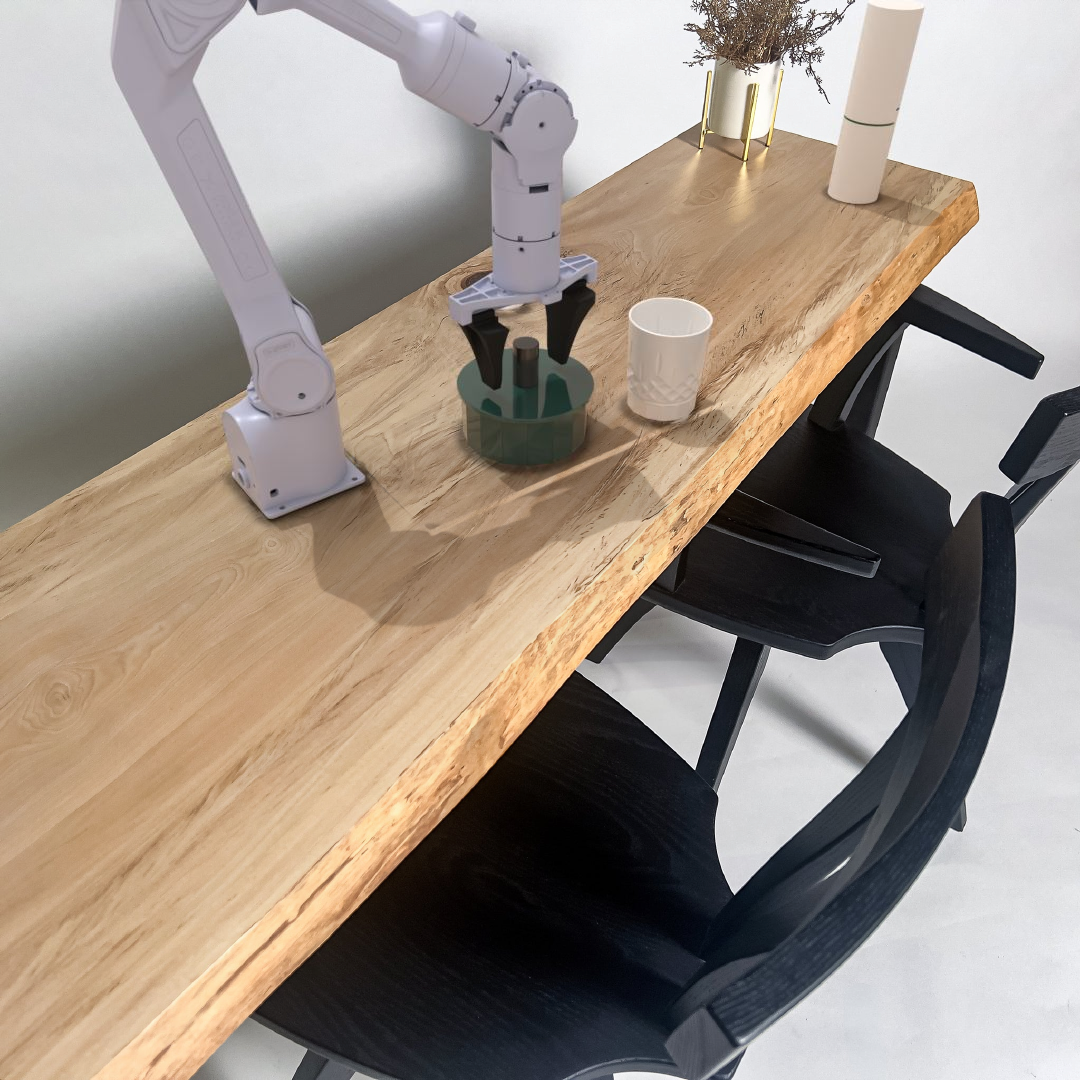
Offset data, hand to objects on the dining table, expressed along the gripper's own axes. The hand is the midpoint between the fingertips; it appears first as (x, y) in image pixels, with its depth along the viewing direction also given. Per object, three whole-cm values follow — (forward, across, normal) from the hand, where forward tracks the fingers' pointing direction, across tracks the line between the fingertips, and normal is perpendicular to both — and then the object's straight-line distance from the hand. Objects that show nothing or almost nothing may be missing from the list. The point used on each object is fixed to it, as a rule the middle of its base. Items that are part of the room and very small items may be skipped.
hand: (525, 372), depth 89 cm
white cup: (+7, +14, -4) cm, 16 cm away
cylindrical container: (+7, +76, +22) cm, 79 cm away
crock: (+7, 0, 0) cm, 7 cm away
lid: (+2, 0, 0) cm, 2 cm away
